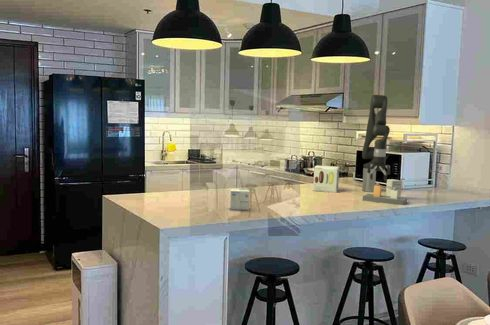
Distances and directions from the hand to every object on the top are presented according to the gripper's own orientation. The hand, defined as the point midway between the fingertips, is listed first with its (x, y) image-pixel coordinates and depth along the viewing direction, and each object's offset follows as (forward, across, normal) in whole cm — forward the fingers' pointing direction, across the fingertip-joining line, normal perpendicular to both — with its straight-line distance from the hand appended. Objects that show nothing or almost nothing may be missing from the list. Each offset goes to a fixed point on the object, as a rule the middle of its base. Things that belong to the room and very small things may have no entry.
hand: (378, 180), depth 318 cm
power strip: (+14, -5, 0) cm, 15 cm away
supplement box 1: (+14, +43, -19) cm, 49 cm away
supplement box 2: (+14, -6, -19) cm, 24 cm away
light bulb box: (+13, +56, +84) cm, 102 cm away
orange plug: (+14, 0, 0) cm, 14 cm away
